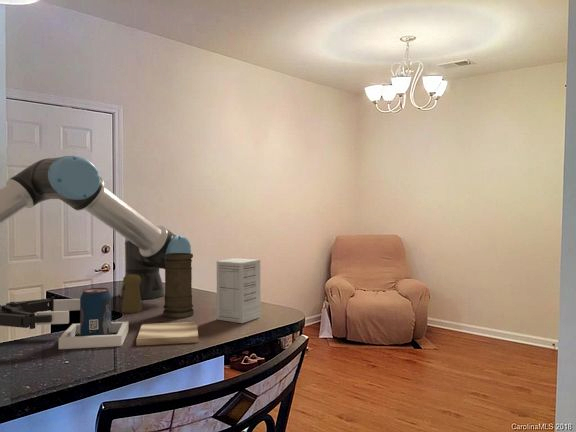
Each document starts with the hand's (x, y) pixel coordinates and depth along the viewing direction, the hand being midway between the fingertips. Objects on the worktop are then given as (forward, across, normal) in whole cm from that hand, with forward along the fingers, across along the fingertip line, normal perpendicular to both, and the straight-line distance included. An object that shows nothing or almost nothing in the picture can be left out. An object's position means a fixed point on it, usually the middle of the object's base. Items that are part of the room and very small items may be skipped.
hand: (75, 310), depth 112 cm
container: (+23, -24, -8) cm, 34 cm away
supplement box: (+40, -16, -8) cm, 44 cm away
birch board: (+21, -1, -7) cm, 23 cm away
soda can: (+4, 0, -8) cm, 9 cm away
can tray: (+4, 0, -7) cm, 9 cm away
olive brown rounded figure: (+9, -32, -8) cm, 34 cm away
